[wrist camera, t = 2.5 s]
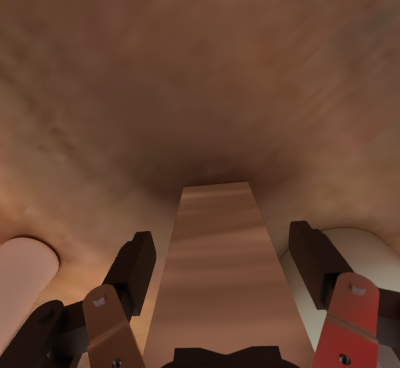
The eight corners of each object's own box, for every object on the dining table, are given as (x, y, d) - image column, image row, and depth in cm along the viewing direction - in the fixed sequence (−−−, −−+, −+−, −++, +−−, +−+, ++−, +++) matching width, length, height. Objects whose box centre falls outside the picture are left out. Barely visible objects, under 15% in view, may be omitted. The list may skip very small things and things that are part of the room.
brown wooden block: (183, 187, 17) (136, 379, 6) (247, 181, 16) (324, 377, 6) (187, 208, 18) (152, 410, 7) (248, 203, 17) (315, 411, 6)
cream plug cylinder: (278, 231, 18) (353, 393, 9) (403, 223, 17) (636, 392, 8) (274, 307, 22) (322, 472, 13) (374, 304, 22) (503, 476, 12)
